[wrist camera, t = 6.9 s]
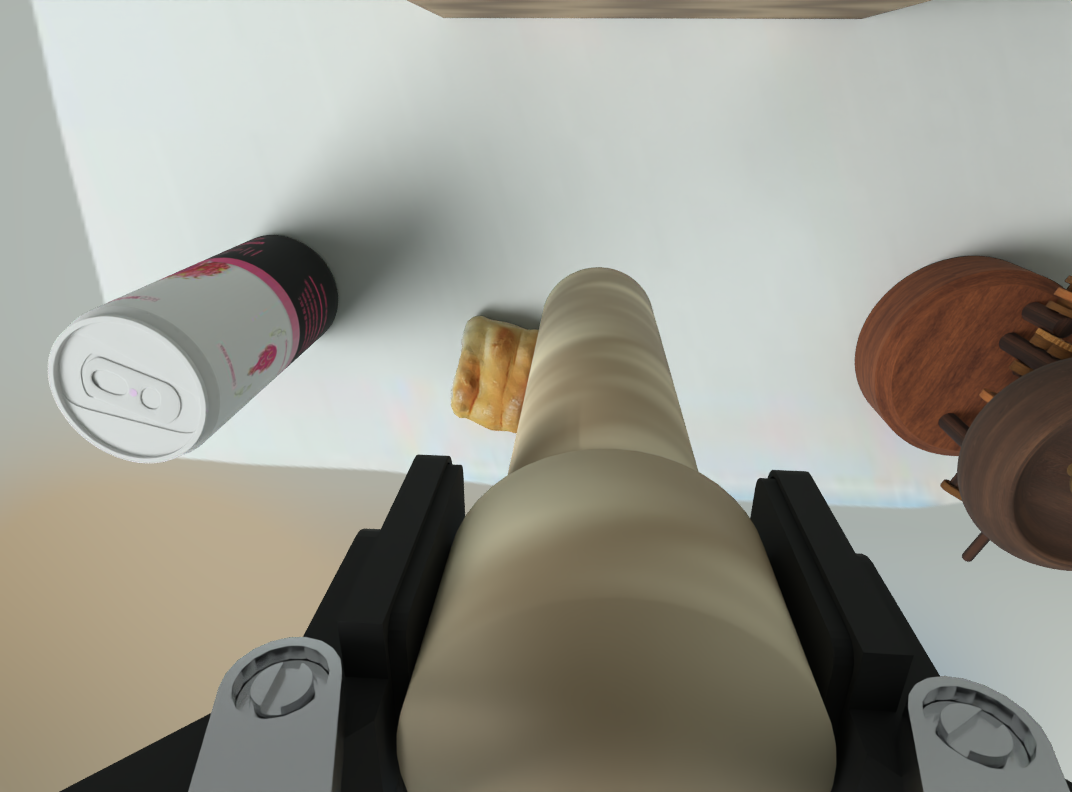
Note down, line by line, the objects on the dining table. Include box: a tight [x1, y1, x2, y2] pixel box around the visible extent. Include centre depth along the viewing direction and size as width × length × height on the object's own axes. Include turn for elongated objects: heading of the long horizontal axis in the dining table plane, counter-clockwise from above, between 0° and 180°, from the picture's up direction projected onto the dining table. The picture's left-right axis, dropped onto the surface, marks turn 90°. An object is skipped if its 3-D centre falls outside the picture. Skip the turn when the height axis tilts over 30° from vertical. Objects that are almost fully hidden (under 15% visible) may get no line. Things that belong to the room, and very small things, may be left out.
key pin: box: [397, 267, 836, 792], centre depth 15 cm, size 5×5×16 cm
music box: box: [855, 256, 1072, 571], centre depth 30 cm, size 15×11×20 cm
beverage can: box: [48, 235, 338, 463], centre depth 33 cm, size 6×6×15 cm
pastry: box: [451, 316, 539, 433], centre depth 40 cm, size 9×7×4 cm
